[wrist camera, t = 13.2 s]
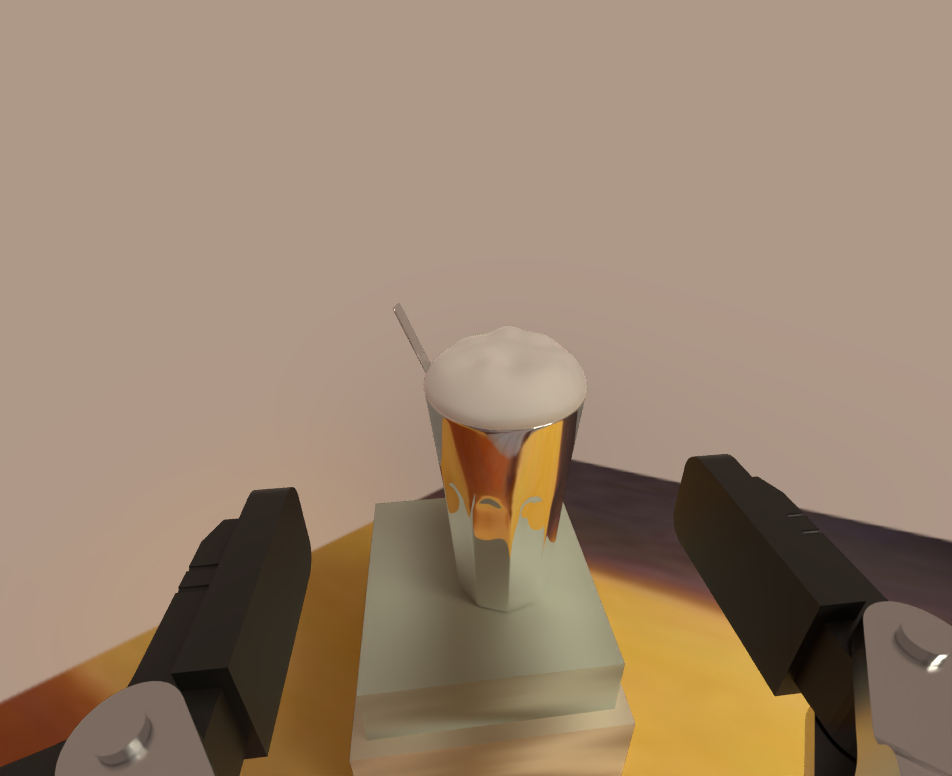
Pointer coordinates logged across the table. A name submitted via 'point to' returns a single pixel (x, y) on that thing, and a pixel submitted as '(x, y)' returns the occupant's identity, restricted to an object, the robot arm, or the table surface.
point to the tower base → (482, 665)
